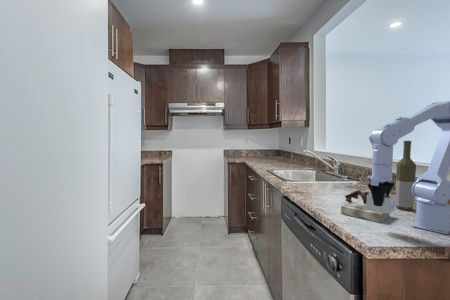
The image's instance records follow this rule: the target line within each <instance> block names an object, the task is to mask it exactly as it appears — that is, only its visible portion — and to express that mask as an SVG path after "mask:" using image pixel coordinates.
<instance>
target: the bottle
mask: <svg viewBox="0 0 450 300" xmlns="http://www.w3.org/2000/svg"><path fill="white" fill-rule="evenodd" d="M411 149H412V140H403V149H402V150H403V152H402V154H403V155H402V158H401V159H400V160H399V161H397V162H396V177H395V182H396V183H395V207H396V208H397V209H399V210H403V211H411V210H413V209H414V199H415V198H414V197H415V196H414V195H413V194H412V186H413V184H414V183H415V182H416V173H417V164H416V162H414V161H413V160H412V158H411V152H412V151H411Z"/></svg>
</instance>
